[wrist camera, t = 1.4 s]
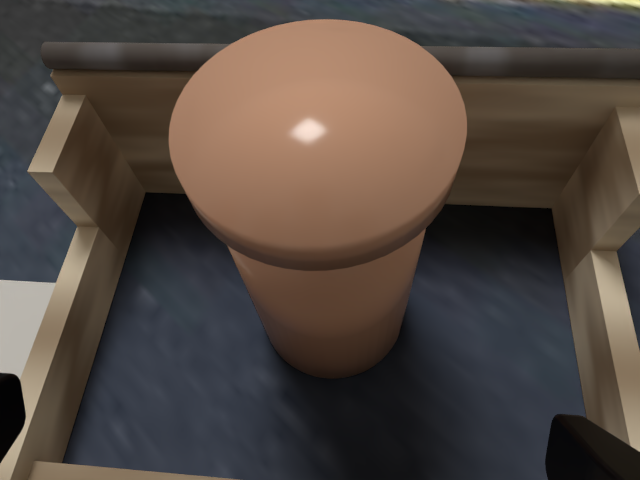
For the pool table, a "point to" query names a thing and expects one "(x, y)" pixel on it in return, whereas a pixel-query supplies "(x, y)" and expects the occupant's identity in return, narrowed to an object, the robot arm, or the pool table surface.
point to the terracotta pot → (321, 178)
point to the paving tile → (20, 321)
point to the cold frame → (468, 189)
